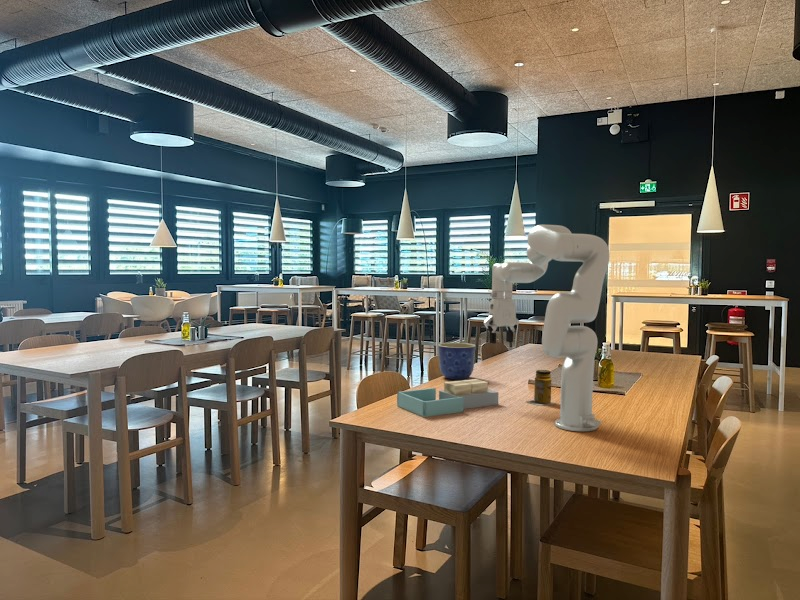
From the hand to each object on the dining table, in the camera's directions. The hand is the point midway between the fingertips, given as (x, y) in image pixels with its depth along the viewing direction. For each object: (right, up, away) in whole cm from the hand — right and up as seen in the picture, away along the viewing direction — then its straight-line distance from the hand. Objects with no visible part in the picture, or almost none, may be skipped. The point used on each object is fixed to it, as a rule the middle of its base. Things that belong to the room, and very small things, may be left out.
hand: (501, 342), depth 214 cm
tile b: (-17, -18, -9) cm, 26 cm away
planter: (-13, -20, +45) cm, 50 cm away
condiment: (+14, -22, -4) cm, 27 cm away
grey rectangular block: (-13, -22, -6) cm, 26 cm away
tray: (-28, -22, -15) cm, 39 cm away
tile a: (-11, -17, -5) cm, 21 cm away
